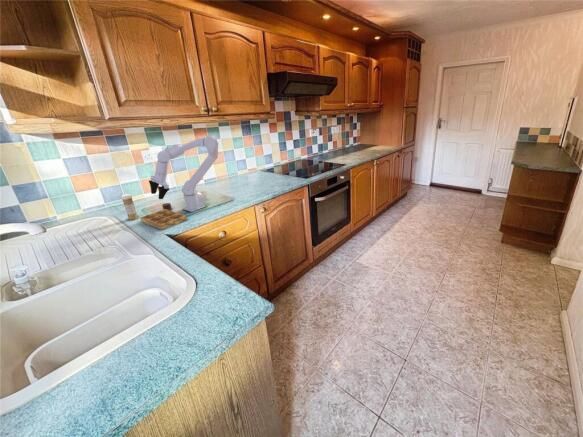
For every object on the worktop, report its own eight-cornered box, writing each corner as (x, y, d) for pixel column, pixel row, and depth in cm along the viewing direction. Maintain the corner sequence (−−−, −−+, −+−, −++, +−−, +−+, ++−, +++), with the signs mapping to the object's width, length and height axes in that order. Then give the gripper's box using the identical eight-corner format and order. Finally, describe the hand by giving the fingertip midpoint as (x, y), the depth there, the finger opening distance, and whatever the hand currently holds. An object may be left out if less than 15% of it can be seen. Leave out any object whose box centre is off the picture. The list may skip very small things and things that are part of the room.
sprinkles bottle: (131, 217, 142) (123, 193, 137) (139, 216, 142) (132, 193, 137) (127, 220, 138) (119, 196, 132) (135, 219, 138) (128, 195, 133)
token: (169, 208, 153) (167, 202, 151) (173, 209, 150) (172, 203, 149) (162, 210, 149) (160, 204, 148) (166, 212, 147) (164, 206, 145)
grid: (166, 213, 145) (165, 208, 144) (187, 220, 134) (186, 215, 133) (141, 221, 135) (140, 217, 134) (161, 230, 124) (160, 225, 123)
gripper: (146, 167, 138) (142, 191, 142) (161, 176, 132) (156, 201, 136) (159, 168, 144) (155, 191, 148) (174, 177, 138) (169, 201, 141)
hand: (157, 196), depth 142 cm, fingers open, 7 cm apart
